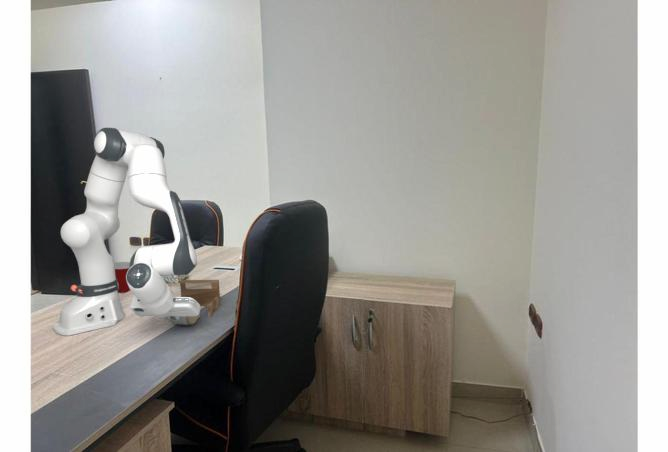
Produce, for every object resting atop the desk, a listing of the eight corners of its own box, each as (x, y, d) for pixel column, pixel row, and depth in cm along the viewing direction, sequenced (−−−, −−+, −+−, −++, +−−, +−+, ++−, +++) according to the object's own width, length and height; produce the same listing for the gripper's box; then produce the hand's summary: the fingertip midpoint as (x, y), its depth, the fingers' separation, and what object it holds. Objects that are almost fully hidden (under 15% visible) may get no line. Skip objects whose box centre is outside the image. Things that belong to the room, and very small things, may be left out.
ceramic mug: (188, 329, 151) (187, 307, 150) (168, 326, 154) (166, 305, 152) (206, 317, 161) (204, 297, 160) (186, 316, 164) (185, 295, 162)
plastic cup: (133, 293, 190) (130, 266, 188) (106, 295, 189) (103, 268, 187) (140, 286, 201) (138, 260, 199) (115, 287, 199) (112, 261, 197)
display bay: (210, 316, 162) (208, 290, 160) (170, 317, 162) (168, 290, 161) (220, 304, 174) (218, 279, 172) (183, 304, 175) (181, 280, 173)
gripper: (194, 289, 139) (207, 308, 150) (130, 290, 140) (147, 308, 151) (190, 308, 135) (204, 326, 146) (124, 309, 136) (142, 326, 148)
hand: (175, 317), depth 149 cm, fingers closed
